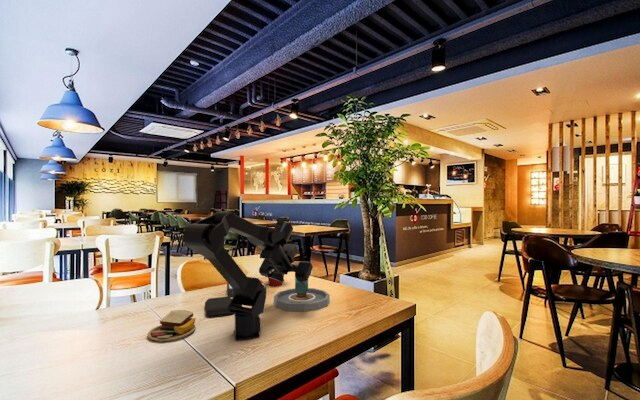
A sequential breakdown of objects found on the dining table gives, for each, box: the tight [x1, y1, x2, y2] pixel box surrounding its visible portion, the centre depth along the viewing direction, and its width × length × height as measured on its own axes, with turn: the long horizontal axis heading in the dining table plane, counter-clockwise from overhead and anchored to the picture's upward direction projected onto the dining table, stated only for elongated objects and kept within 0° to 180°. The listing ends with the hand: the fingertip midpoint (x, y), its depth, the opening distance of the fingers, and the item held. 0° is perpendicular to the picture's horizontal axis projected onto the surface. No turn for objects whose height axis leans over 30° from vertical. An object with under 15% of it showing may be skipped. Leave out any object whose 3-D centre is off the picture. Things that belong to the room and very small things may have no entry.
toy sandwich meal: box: [146, 309, 196, 342], centre depth 93 cm, size 12×14×5 cm
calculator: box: [226, 279, 267, 299], centre depth 134 cm, size 11×4×15 cm
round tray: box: [273, 287, 331, 313], centre depth 120 cm, size 20×20×2 cm
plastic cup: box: [267, 274, 285, 287], centre depth 144 cm, size 11×11×12 cm
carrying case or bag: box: [204, 296, 234, 318], centre depth 112 cm, size 11×3×15 cm
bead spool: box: [293, 262, 310, 300], centre depth 120 cm, size 6×6×13 cm
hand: (294, 282), depth 115 cm, fingers open, 9 cm apart
